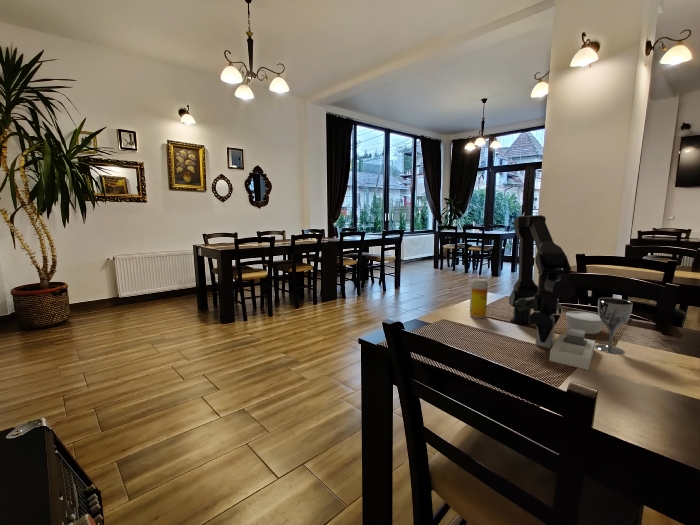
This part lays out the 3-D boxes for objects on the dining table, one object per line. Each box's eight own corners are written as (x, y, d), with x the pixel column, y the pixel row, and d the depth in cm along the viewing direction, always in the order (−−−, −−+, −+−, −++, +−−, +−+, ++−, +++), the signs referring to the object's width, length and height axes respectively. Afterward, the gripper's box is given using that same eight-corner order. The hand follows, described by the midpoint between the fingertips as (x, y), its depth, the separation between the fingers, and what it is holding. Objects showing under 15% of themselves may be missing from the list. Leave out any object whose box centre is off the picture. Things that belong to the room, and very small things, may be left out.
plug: (538, 340, 108) (539, 323, 107) (552, 344, 105) (554, 325, 104) (535, 344, 105) (536, 326, 104) (550, 348, 102) (551, 329, 101)
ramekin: (579, 323, 124) (581, 309, 123) (611, 333, 114) (612, 318, 113) (557, 326, 121) (558, 312, 120) (587, 337, 110) (588, 322, 109)
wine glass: (619, 345, 103) (625, 298, 101) (631, 356, 96) (638, 305, 93) (589, 342, 106) (594, 296, 103) (598, 352, 98) (604, 303, 96)
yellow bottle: (487, 319, 129) (489, 281, 127) (470, 318, 131) (472, 280, 128) (484, 314, 135) (486, 278, 133) (468, 313, 136) (470, 277, 134)
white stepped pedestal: (559, 343, 106) (560, 324, 105) (594, 350, 100) (596, 330, 99) (549, 360, 94) (551, 339, 93) (588, 370, 88) (590, 348, 87)
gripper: (526, 282, 115) (523, 326, 117) (511, 293, 100) (508, 342, 103) (565, 287, 107) (560, 333, 110) (554, 299, 93) (549, 352, 96)
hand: (544, 339), depth 105 cm, fingers open, 5 cm apart
